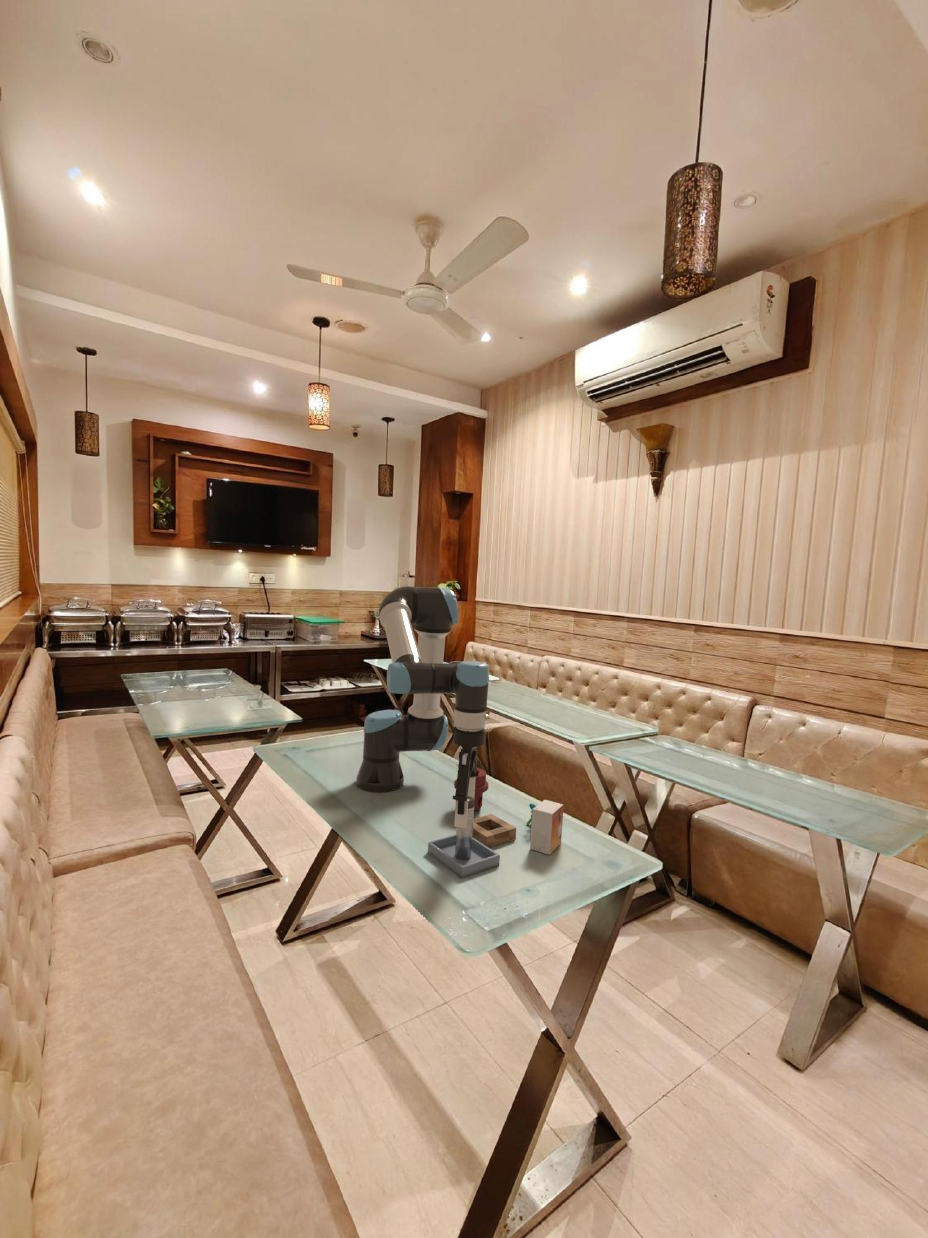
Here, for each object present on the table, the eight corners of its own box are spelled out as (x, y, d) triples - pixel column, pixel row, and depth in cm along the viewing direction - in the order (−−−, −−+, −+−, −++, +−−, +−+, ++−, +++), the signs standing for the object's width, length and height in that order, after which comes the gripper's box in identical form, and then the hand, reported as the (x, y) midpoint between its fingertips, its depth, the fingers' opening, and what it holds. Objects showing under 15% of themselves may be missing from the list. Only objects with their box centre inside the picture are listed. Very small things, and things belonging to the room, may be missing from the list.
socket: (462, 833, 145) (462, 822, 145) (491, 824, 151) (491, 814, 151) (486, 848, 137) (486, 837, 137) (515, 839, 143) (516, 828, 143)
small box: (549, 856, 135) (552, 814, 134) (529, 849, 138) (531, 808, 137) (561, 843, 142) (564, 804, 141) (541, 837, 145) (544, 798, 144)
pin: (451, 854, 132) (454, 798, 131) (464, 850, 134) (467, 794, 133) (461, 862, 128) (464, 803, 128) (474, 857, 131) (477, 800, 130)
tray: (427, 852, 134) (428, 842, 133) (463, 841, 140) (464, 831, 140) (461, 878, 122) (462, 867, 122) (499, 865, 129) (499, 855, 129)
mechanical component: (489, 805, 164) (484, 818, 154) (456, 801, 166) (449, 814, 156) (491, 765, 163) (486, 776, 154) (458, 761, 165) (451, 772, 156)
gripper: (479, 744, 116) (473, 840, 118) (490, 715, 141) (485, 795, 143) (444, 741, 117) (439, 836, 119) (461, 713, 142) (457, 792, 144)
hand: (464, 814), depth 131 cm, fingers open, 13 cm apart
